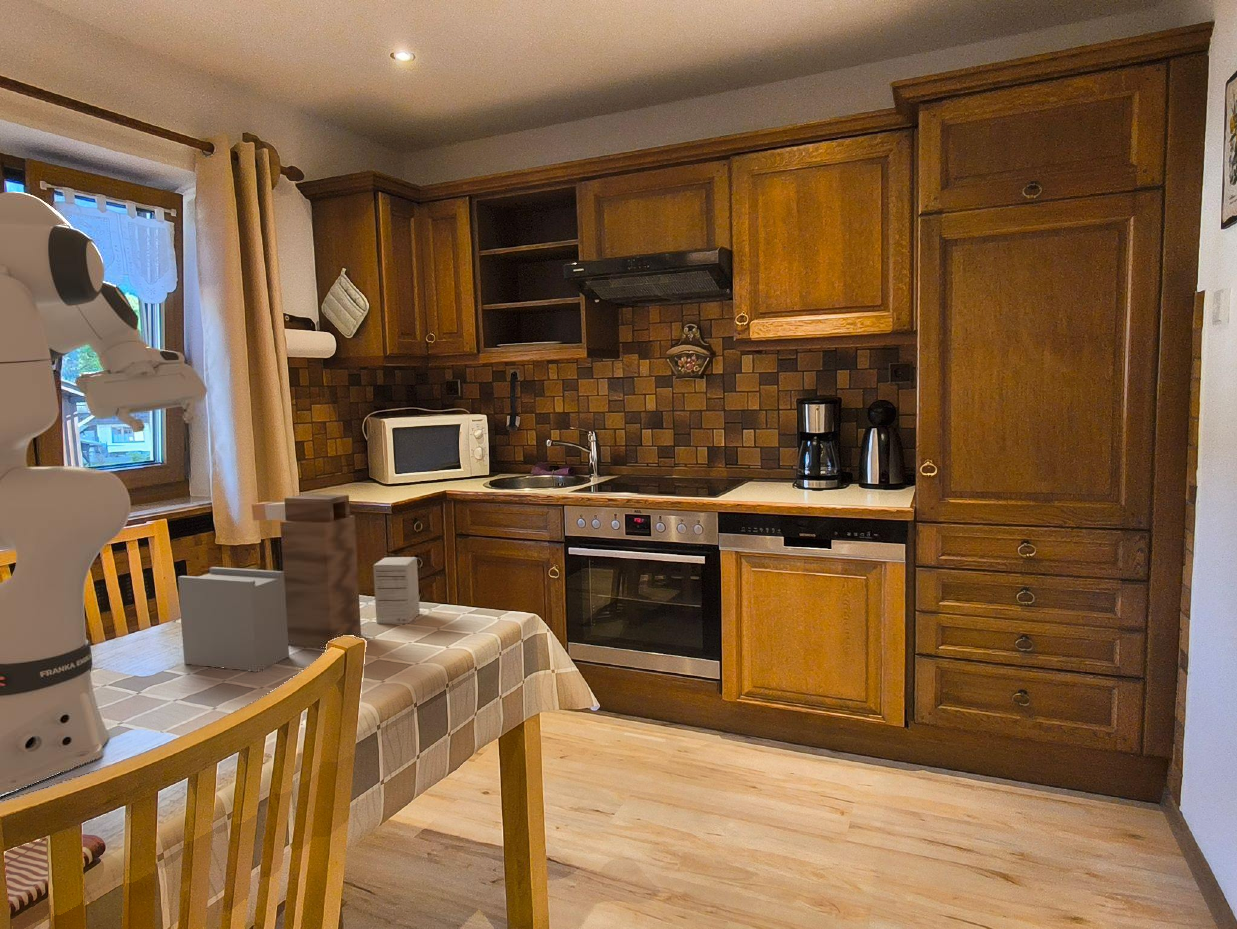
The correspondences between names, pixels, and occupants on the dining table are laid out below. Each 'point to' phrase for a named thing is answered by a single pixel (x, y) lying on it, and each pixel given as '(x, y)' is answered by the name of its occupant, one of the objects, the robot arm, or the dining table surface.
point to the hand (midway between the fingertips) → (166, 425)
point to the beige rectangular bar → (268, 511)
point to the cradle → (234, 618)
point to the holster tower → (320, 569)
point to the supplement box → (396, 589)
